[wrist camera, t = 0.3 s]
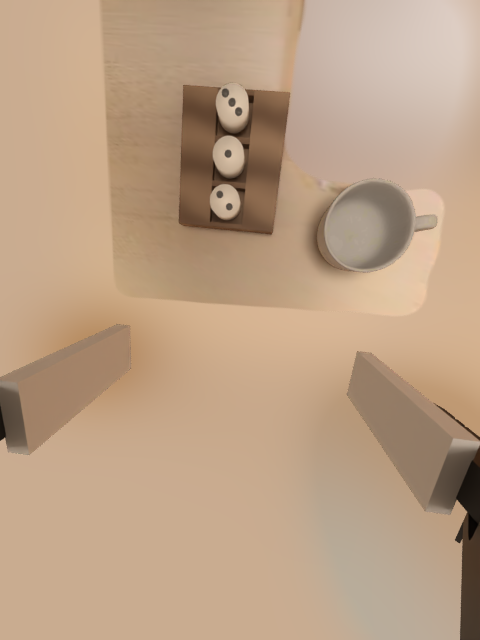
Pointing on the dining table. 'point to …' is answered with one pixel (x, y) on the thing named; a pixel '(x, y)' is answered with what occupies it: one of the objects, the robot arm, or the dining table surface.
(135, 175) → the dining table surface
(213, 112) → the panel
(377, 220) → the teacup
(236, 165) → the button one
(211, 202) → the button two
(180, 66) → the dining table surface
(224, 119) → the button three
